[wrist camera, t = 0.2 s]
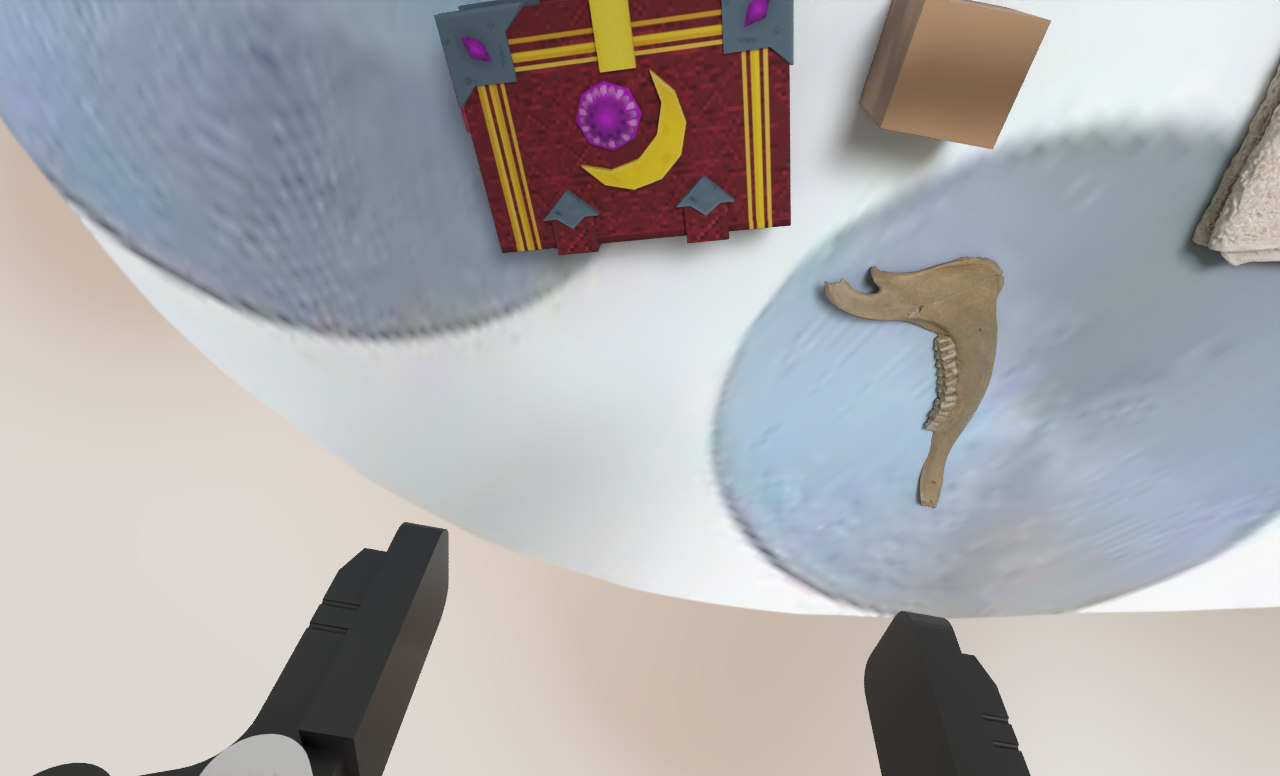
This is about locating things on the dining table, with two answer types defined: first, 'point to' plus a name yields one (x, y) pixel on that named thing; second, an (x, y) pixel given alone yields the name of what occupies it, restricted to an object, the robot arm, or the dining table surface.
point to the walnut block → (950, 68)
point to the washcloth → (1249, 193)
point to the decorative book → (625, 116)
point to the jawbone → (940, 340)
